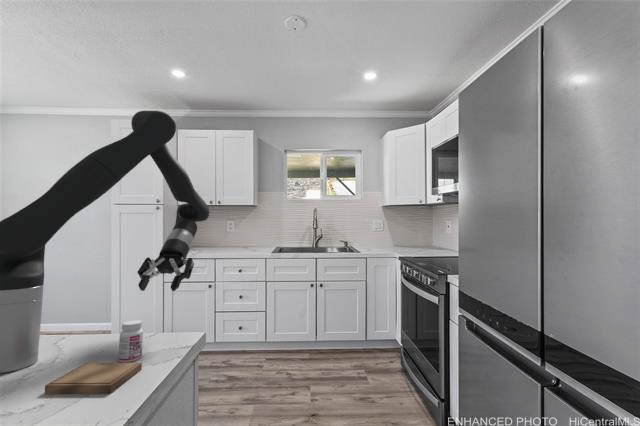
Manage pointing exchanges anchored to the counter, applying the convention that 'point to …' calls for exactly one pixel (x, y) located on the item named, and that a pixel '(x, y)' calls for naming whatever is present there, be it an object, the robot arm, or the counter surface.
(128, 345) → the pill bottle
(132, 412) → the counter surface
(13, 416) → the counter surface
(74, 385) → the walnut tray
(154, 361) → the counter surface
